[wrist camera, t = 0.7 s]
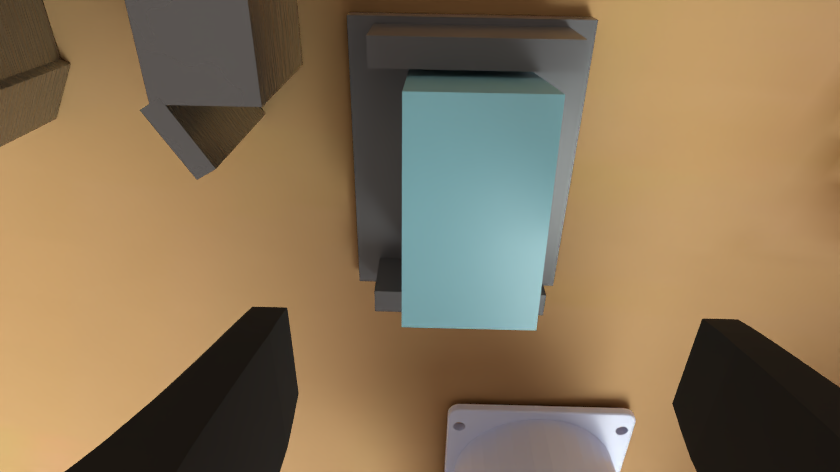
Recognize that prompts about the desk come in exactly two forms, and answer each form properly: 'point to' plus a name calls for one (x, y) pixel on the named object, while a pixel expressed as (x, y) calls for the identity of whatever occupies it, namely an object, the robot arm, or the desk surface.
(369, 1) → the desk surface
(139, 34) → the port block
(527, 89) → the teal rectangular block
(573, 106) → the holster
